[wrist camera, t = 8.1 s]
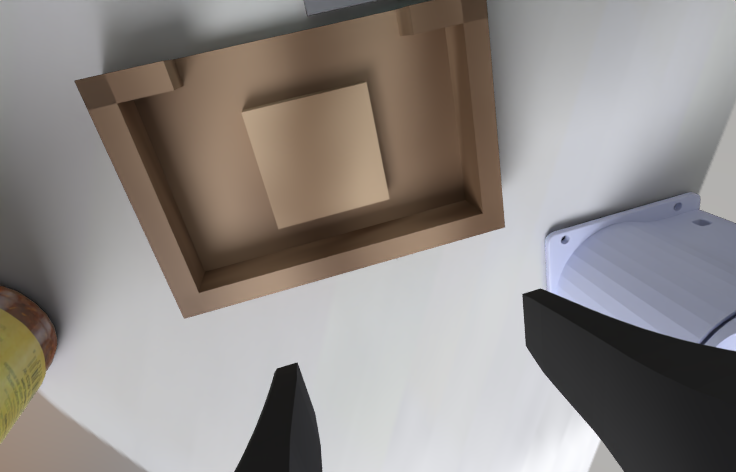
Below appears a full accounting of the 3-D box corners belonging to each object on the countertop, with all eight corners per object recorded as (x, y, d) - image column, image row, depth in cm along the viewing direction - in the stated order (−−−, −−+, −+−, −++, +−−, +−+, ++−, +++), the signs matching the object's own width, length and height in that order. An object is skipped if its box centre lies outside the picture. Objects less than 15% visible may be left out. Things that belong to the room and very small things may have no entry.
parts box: (457, -4, 19) (485, -12, 17) (479, 207, 23) (504, 227, 21) (102, 76, 18) (74, 80, 15) (193, 287, 22) (184, 318, 19)
